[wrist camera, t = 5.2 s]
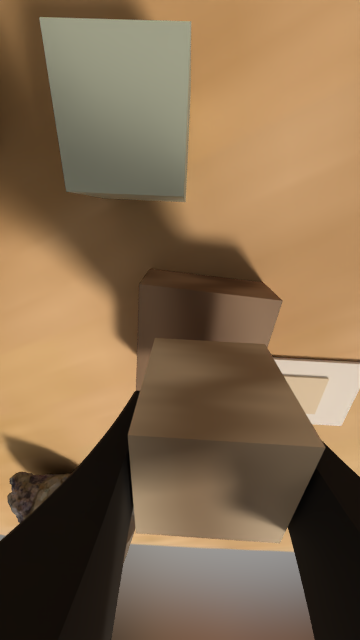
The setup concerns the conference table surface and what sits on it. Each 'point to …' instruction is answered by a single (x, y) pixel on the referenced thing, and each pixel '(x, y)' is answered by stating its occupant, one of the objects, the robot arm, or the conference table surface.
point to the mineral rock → (41, 495)
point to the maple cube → (218, 443)
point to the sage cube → (121, 105)
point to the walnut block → (202, 311)
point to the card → (322, 387)
